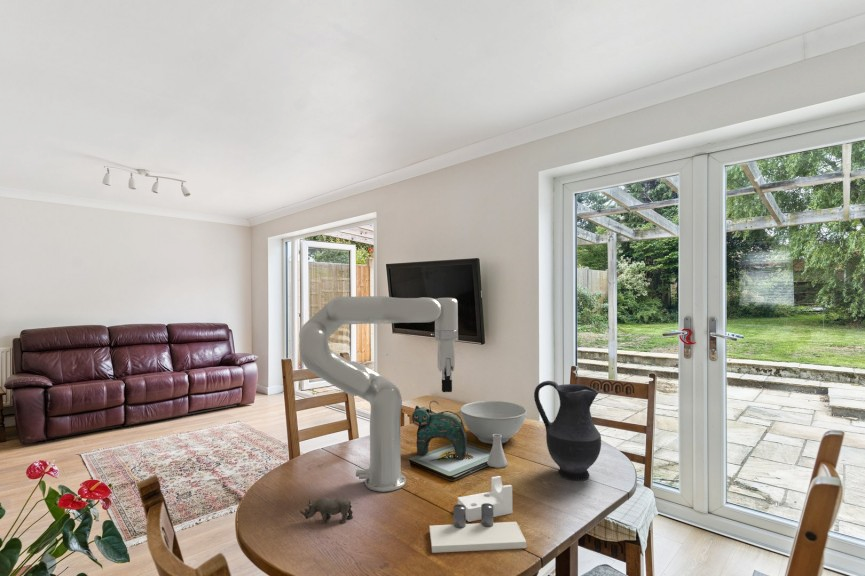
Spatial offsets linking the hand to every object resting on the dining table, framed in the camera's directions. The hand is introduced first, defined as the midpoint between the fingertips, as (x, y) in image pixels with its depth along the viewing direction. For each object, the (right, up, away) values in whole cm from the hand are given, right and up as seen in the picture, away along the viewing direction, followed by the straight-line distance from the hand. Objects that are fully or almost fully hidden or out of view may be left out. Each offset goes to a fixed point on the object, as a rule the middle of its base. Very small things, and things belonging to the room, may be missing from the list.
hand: (446, 391), depth 146 cm
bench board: (+6, -27, -38) cm, 47 cm away
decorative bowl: (+20, -27, +34) cm, 48 cm away
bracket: (+10, -27, -24) cm, 38 cm away
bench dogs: (+6, -27, -34) cm, 44 cm away
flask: (+18, -27, +8) cm, 34 cm away
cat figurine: (-2, -28, +17) cm, 32 cm away
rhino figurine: (-33, -28, -29) cm, 51 cm away
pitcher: (+39, -27, 0) cm, 48 cm away
